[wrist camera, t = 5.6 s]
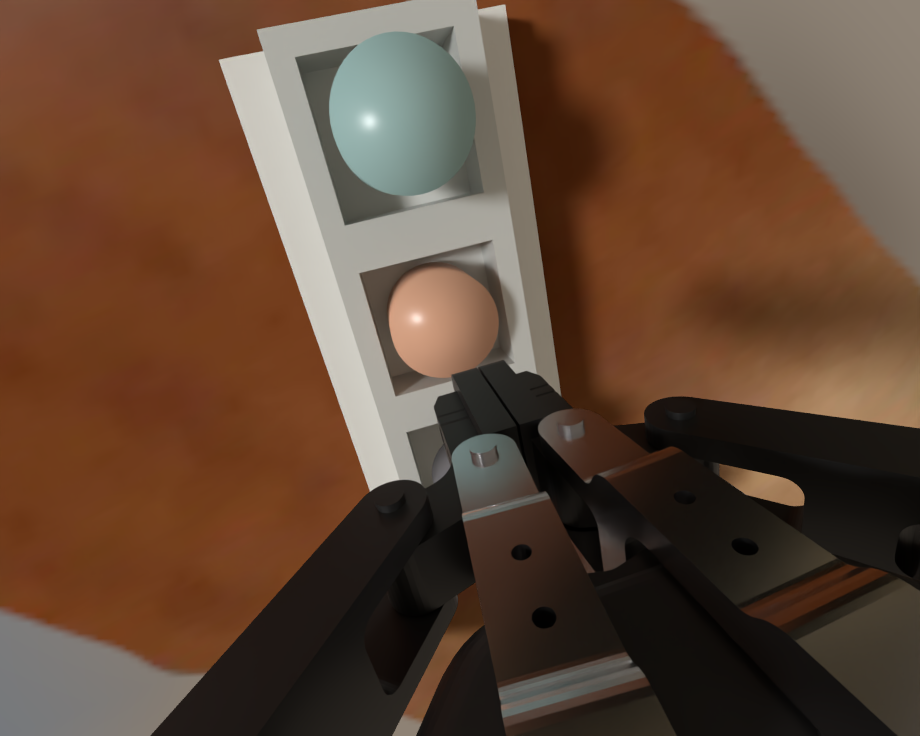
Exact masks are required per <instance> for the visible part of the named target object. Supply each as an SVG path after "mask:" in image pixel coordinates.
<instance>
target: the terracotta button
mask: <svg viewBox="0 0 920 736" xmlns="http://www.w3.org/2000/svg"><path fill="white" fill-rule="evenodd" d="M387 319H388V324H389V328H390V332H391V336H392V340H393V343H394V346H395V349H396V350H397V352H398V354H399V356H400V357H401V358H402V360H403V361H404V362H405V363H406V364H407V365H408V366H410V367H411V368H412V369H414V370H415V371H417V372H419V373H421V374H423V375H427V376H430V377H436V378H449V377H451V375H452V374H455V373H459V372H462V371H466V370H469V369H473V368H475V367H476V366H478V365H479V364H480V363H481V362H482V361H483V360H484V359H485V358H486V357H487V355H488V354H489V353H490V351H491V349H492V348H493V346H494V343H495V341H496V338H497V334H498V328H499V318H498V311H497V307H496V305H495V302H494V300H493V298H492V296H491V295H490V293H489V292H488V291H487V289H486V288H485V287H484V286H483V285H482V284H480V283H479V282H478V281H476V280H475V279H474V278H472V277H471V276H470V275H468V274H467V273H466V272H464V271H463V270H462V269H460V268H458V267H456V266H454V265H451V264H448V263H443V262H429V263H424V264H421V265H418V266H416V267H414V268H412V269H410V270H409V271H407V272H406V273H405V274H403V275H402V276H401V277H400V278H399V279H398V281H397V282H396V283H395V285H394V286H393V288H392V290H391V292H390V295H389V298H388V303H387Z"/></svg>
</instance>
